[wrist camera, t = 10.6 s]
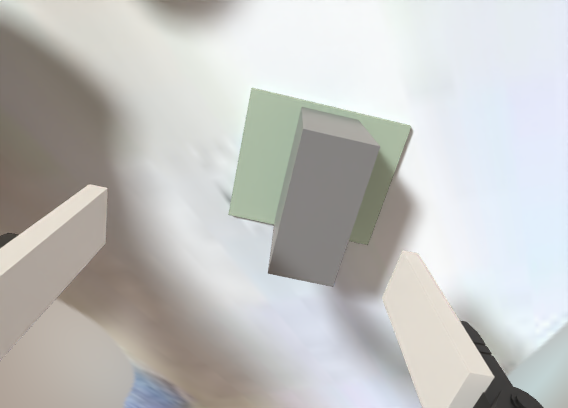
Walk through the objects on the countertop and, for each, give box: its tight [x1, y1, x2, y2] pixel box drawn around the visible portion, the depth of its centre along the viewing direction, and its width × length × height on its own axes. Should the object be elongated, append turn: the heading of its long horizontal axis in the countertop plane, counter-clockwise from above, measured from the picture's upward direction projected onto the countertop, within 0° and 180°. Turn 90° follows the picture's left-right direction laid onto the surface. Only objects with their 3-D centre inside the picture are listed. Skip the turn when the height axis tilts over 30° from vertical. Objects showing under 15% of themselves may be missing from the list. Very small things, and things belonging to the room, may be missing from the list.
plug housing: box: [268, 107, 380, 287], centre depth 29 cm, size 5×11×9 cm, turn 167°
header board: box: [229, 88, 411, 245], centre depth 31 cm, size 14×12×6 cm
